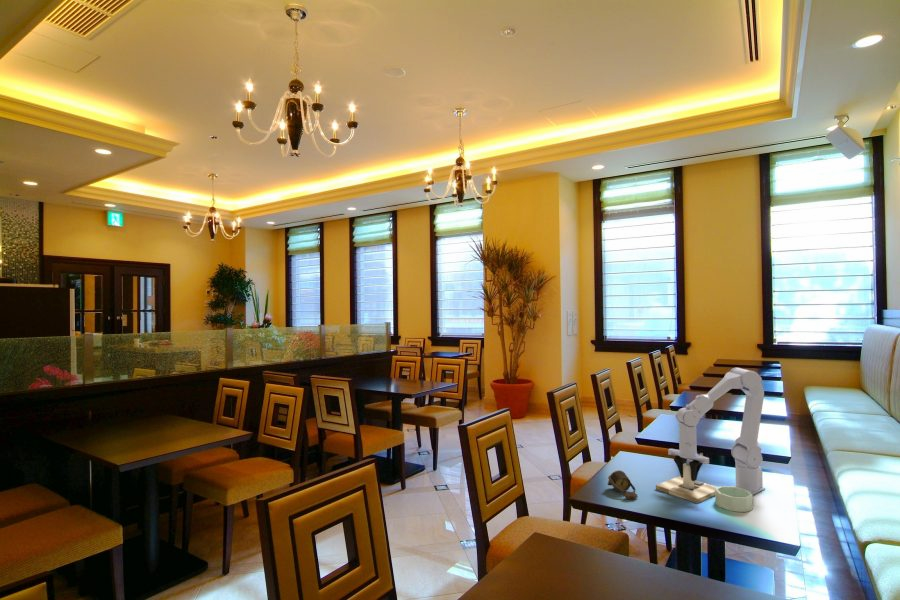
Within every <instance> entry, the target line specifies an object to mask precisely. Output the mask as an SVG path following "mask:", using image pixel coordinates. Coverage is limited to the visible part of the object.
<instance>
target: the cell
mask: <svg viewBox="0 0 900 600" xmlns="http://www.w3.org/2000/svg"><path fill="white" fill-rule="evenodd" d="M683 487H684V489H688V490H691V489H692V490H694V489H693V488H694V481H692V480H691V468H690V464H689V462H686V463H684V464H683Z"/></svg>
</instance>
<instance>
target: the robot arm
mask: <svg viewBox="0 0 900 600" xmlns="http://www.w3.org/2000/svg"><path fill="white" fill-rule="evenodd" d="M762 381H763V378H762V377H761V376H760V374H759V373H757V372H756V371H754V370H749V369H745V368H741V367H733V368H731V369H730V370H729V371H727V372H726V373H725V375H724V377H723V378H722V379H721V380H720V381H719V382H717V383H716V384H715V386H713V388H711V389H710V390H709V391H708V392H707V393H705V394H698V395H696V396H695V398H694V399H693V400H692V401H691V402H690V403H689V404H688V403H687V404H686V405H685V407H682V408H679V409H678V410H677V411H676V412H677V413H676V414H675V418H676V420H677V421H678V435H679V436H678V441H679V442H678V443H679V449H675V448H669V449H668V450H667V451H668V452H667V453H668V454H667V455H668V456H675V457H674V458H673V462H674V463H675V465H676V466H677V469H678V471H679V474H680V475H679V476H681V478H683V464H684V463H687V460H691V461H689V462H688V463H689V464H690V468H691V480H692V481H695V480H696V481H698V480H697V478H698V475H699V471H700V469H701V467H702V466H703V464H704V465H709V464H710V458H709V457H707V456H704V455H701V454H700V453H698V451H697V445H698V444H697V425H698V424H699V423H700V419H701V418H702V417H703V415H705V414H706V413H708V411H710V410H711V409H712V408H713V407H714V402H716V401H717V400H718V399H719V398H721V397H722V396H724V395H725V394H726V393H728V392H729V391H730V390H732V389H741V391H742V392H743V393H744V394H745V402H744V406H743V408H744V409H743V413H742V414H743V415H742V421H741V429H740V436H739V437H737V438H736V439H735V442H734V444H733V446H732V447H731V450H730V452H731V456H732V457H733V459H734V462H735V465H734V466H735V484H734V485H731V487H738V488H741V489H744V490H748V491H749V492H750V493H751V494H752V496H753V495H756V494H758V493H760V492H762V491H764V490H766V487H765V486H764V485H763V483H764V482H763V481H764V480H763V479H764V478H763V469H762V468H761V465H762V463H763V460H764V459H763V455H762V447H761V445H760V444H759V441H758V439H759V432H760V424H761V418H762V412H763V404H764V399H765V391H764V387H763V384H762Z"/></svg>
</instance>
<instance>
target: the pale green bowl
mask: <svg viewBox="0 0 900 600" xmlns="http://www.w3.org/2000/svg"><path fill="white" fill-rule="evenodd" d="M717 487H718V488H716V489H715V496H714V498H715V504H716V506H717V507H720V508H722V509H723V510H727V511H731V512H735V513H748V512H750V511H752V510H753V494H751V493H750V492H749V491H748V490H744V489H741V488H738V487H732V485H731V486H729V485H727V486H726V485H720V486H717Z"/></svg>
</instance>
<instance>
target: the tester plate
mask: <svg viewBox="0 0 900 600" xmlns="http://www.w3.org/2000/svg"><path fill="white" fill-rule="evenodd" d="M718 487H719V486H716V485H712V484H708V483H706V482H703V481H699V480H695V481H694V488H693V489H692V490H691V489H689V488H685V487H683V478H681V476H680V475H679V476H676V477H673V478H671V479H669V480H666V481H662V482H660V483H658V484H656V485H655V490H658V491H660V492H662V493H666V494H669V495H671V496H675V497H678V498H682V499H685V500H687V501H691V502H694V503H696V504H699V503H702V502H704V501H706V500H708V499H711V498H713V497H715V489H716V488H718Z"/></svg>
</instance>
